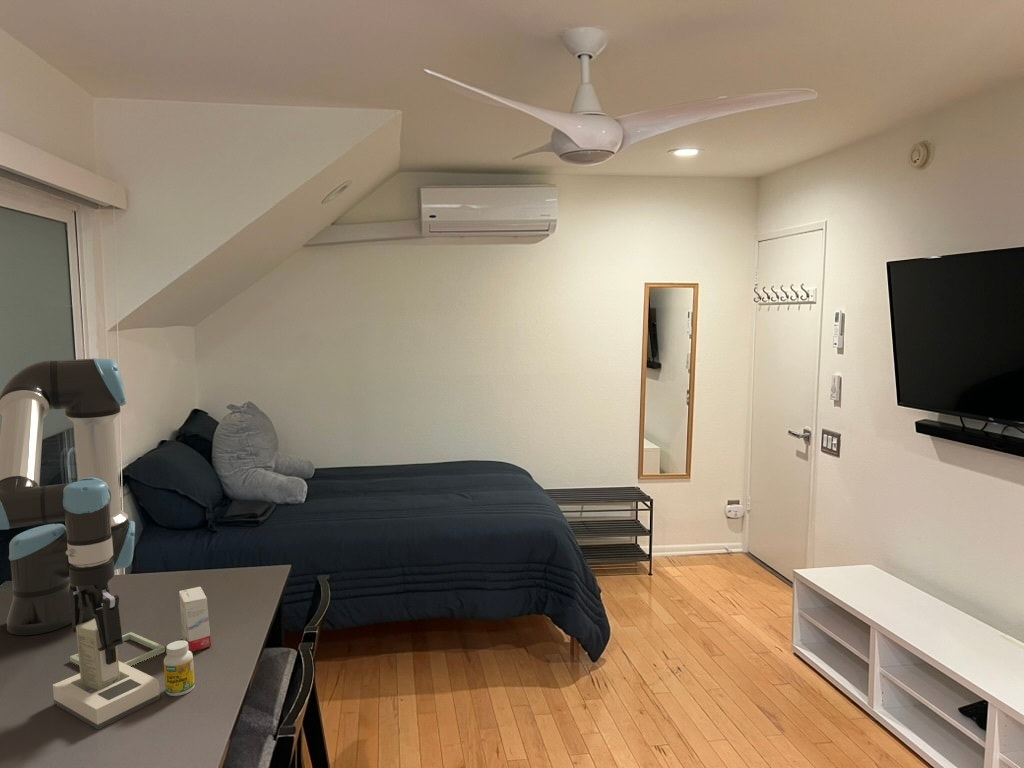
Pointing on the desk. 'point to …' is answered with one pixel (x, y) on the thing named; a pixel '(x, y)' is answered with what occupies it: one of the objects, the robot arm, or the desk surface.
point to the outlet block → (107, 697)
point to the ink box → (195, 618)
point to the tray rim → (155, 646)
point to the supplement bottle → (178, 669)
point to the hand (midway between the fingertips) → (99, 672)
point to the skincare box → (91, 656)
